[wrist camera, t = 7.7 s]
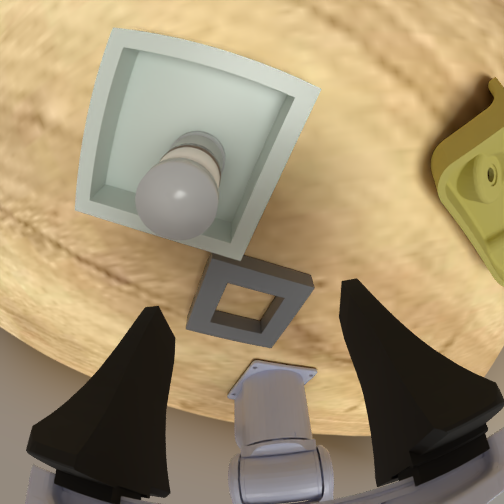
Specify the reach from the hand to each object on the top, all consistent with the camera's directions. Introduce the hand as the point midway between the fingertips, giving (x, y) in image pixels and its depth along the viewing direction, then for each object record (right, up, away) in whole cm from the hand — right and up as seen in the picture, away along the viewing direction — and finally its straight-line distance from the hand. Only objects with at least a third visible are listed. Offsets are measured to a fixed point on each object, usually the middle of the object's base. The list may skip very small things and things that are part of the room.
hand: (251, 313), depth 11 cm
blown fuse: (-3, +8, +5) cm, 10 cm away
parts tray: (-4, +9, +5) cm, 11 cm away
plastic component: (+22, +8, +8) cm, 25 cm away
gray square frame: (-1, -1, +13) cm, 13 cm away
